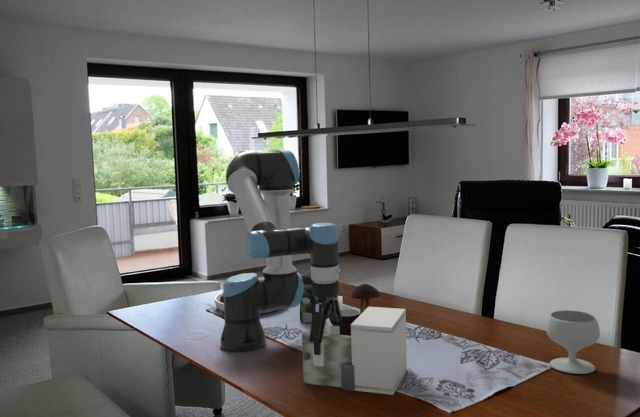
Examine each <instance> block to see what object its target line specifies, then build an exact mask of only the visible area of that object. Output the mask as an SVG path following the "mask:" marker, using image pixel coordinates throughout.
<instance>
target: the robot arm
mask: <svg viewBox="0 0 640 417" xmlns="http://www.w3.org/2000/svg"><path fill="white" fill-rule="evenodd" d="M299 178H300V168H299V164H298V161H297V158H296V156H295V154H294V153H293V152H292V151H290V150H288V149H267V150H266V149H265V150H245V151H243V152H240V153H239V154H237V155H236V156H235V157H233V159H231V161H230V162H229V164H228V166H227V169H226V172H225V183H226V186H227V187H228V190H229V191H230V193H232V194H233V195H234V197H235V198H236V201H237V204H238V207H239V210H240V212H241V215H242V217H243V219H244V222H245V225H246V227H247V230H248V232H247V233H246V236H245V247H246V252H247V255H248V257H249V258H251V259H266V267H264V268H263V270H262V276H259V275H258V274H257V273H256V272H248V273H247V272H246V273H245V272H244V273H239V274H236V275H233V276H230V277H228V278H227V279H225V280H224V283H223V285H222V286H223V290H222V293H223V296H224V312H223V313H224V314H223V315H224V324H223V329H222V332H221V336H220V347H221V349H223V350H224V351H227V352H235V353H237V352H240V353H241V352H249V351H255V350H258V349H260V348H262V347H265V345H266V344H267V336H266V334H265V331H264V328H263V326H262V325H263V324H262V322H261V318H260V317H261V314H260V312H263V311H270V310H275V311H277V310H288V309H291V308H296V307H298V306H300V302H301V300H302V297H303V288H304V287H303V282H302V281H303V279H302V276H301V275H302V274H300V272H298V269H297V267H295V265H293V259H292V258H293V256H296V255H304V254H305V255H306V254H309V255H310V272H311V280H313V281H312V283H311V288H312V295H313V296H316V297H317V298H318V302H317V304H313V315H312V323H310V325H311V326H310V331H309V332H310V338H309V342H313V365H314V366H322V367H323V366H324V343H323V342H322V338H323V334H325V332H324V331H325V328H326V322H327V320H329V323H330V325H329V334H336V335H340V331H339V326H338V325H342V323H343V322H342V321H341V320H342V316H341V311H340V310H341V307H340V302H339V297H338V295H339V294H340V281H339V280H338V279H339V278H340V276H339V275H340V274H339V273H341V269H340V268H339V267H340V266H339V234H338V233H339V232H338V226H337V224H335V223H332V222H317V223H312V224H308V225H307V224H306V225H305V224H303V225H301V226H298V227H292V228H291V224H292V223H291V205H290V204H291V203H290V201H291V200H290V195H291V194H292V192H293V191H294V186H295V185H296V184H298V182H299ZM262 195H263V196H262Z"/></svg>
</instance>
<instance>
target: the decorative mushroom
mask: <svg viewBox="0 0 640 417" xmlns="http://www.w3.org/2000/svg"><path fill="white" fill-rule="evenodd" d="M379 297H381V292H380V291H379V290H378V289H377V288H375V287H374V286H373V285H370V284H368V283H363V284H362V283H361V284H360V285H358V286H356V287H355V288H354V290H352V292H351V294H350V298H351V299H355V300H360V306H359V311H360V315H361V314H362V313H363V312H364V311H365V310H366V309H367V308H368V307H372V306H371V302H370V299H371V300H372V299H377V298H379Z"/></svg>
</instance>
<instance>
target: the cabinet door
mask: <svg viewBox="0 0 640 417" xmlns="http://www.w3.org/2000/svg"><path fill="white" fill-rule="evenodd" d="M309 338H310V331H304V332H302V333H301V349H302V351H301V354H302V372H303V373H302V375H303V376H302V378H303V384H309V385H317V386H326V387H335V388H342V386H341V363H345V364H352V349H351V336H348V335H336V334H330V333H323V338H322V342H323V343H324V366H323V367H322V366H314V365H313V342H309Z"/></svg>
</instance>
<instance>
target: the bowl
mask: <svg viewBox="0 0 640 417" xmlns="http://www.w3.org/2000/svg"><path fill="white" fill-rule="evenodd" d="M214 304H215V307H216V308H217V309H218V310H219V311H221V312H222V313H224V296H223V292H220V293H219V294H217V295H215V297H214ZM274 311H275V312H276V310H270V311H263V312H260V314H259V315H262V314H268V313H271V312H274Z"/></svg>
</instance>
